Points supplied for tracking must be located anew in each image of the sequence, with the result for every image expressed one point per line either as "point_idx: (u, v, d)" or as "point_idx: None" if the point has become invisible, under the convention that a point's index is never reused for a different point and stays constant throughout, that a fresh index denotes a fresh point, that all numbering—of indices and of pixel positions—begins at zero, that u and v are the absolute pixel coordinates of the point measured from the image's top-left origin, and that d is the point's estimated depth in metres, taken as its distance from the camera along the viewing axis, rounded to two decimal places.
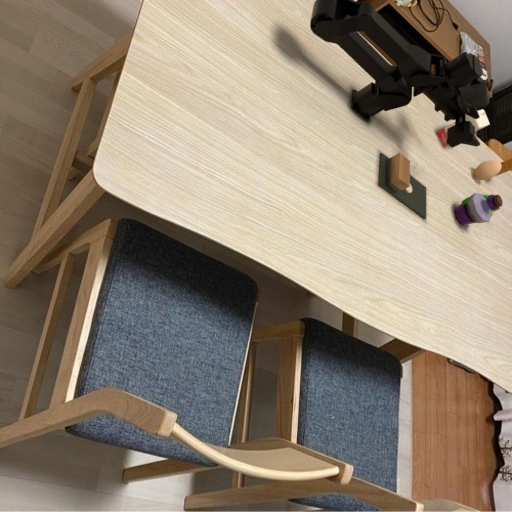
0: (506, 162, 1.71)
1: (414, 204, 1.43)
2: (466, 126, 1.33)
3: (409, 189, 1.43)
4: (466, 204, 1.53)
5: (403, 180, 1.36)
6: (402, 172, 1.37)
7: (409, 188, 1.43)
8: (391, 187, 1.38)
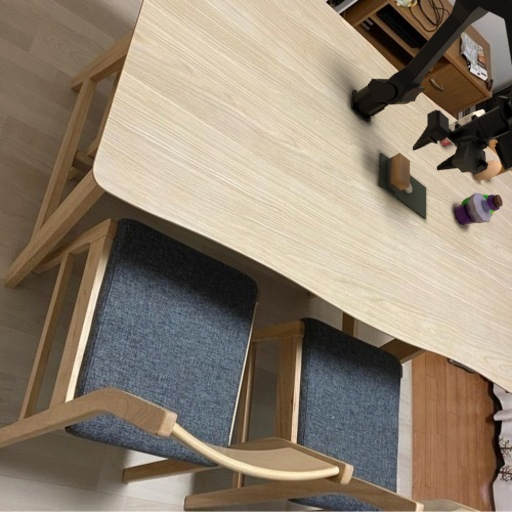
0: None
1: (414, 204, 1.43)
2: (443, 131, 1.22)
3: (409, 189, 1.43)
4: (466, 204, 1.53)
5: (403, 180, 1.36)
6: (402, 172, 1.37)
7: (409, 188, 1.43)
8: (391, 187, 1.38)
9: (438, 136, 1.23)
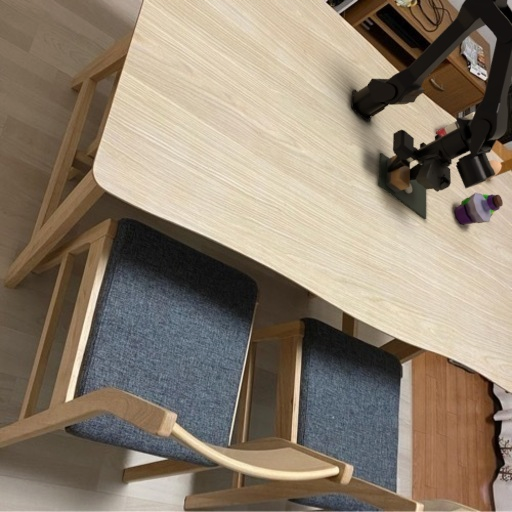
0: (506, 162, 1.71)
1: (414, 204, 1.43)
2: (407, 150, 1.28)
3: (409, 189, 1.43)
4: (466, 204, 1.53)
5: (403, 180, 1.36)
6: (402, 172, 1.37)
7: (409, 188, 1.43)
8: (391, 187, 1.38)
9: (403, 155, 1.29)
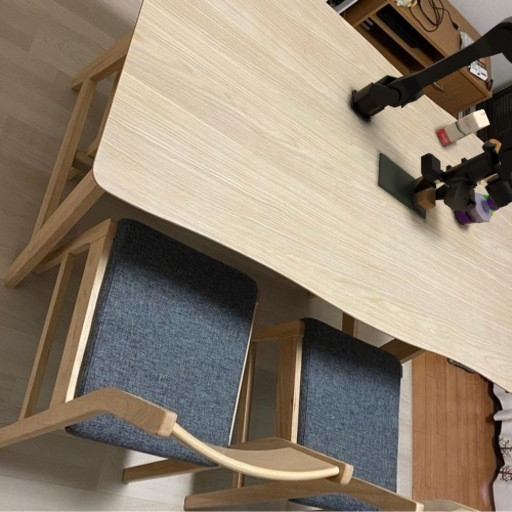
0: None
1: None
2: (435, 173, 1.34)
3: None
4: None
5: (429, 201, 1.41)
6: (429, 193, 1.42)
7: None
8: (417, 207, 1.43)
9: (431, 177, 1.34)
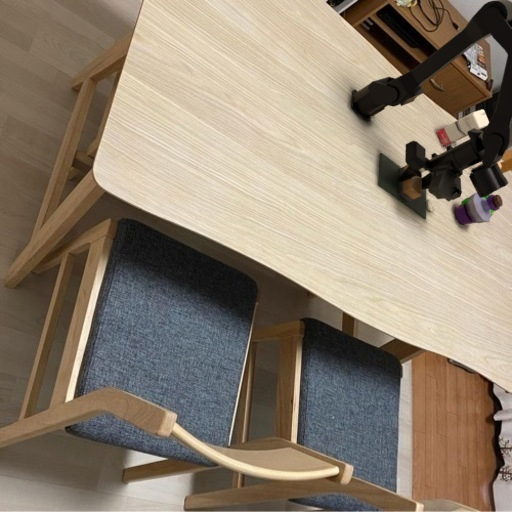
0: (506, 162, 1.71)
1: (414, 204, 1.43)
2: (419, 161, 1.31)
3: (431, 207, 1.48)
4: (466, 204, 1.53)
5: (415, 189, 1.38)
6: (415, 182, 1.39)
7: (431, 206, 1.48)
8: (403, 196, 1.40)
9: (415, 165, 1.32)
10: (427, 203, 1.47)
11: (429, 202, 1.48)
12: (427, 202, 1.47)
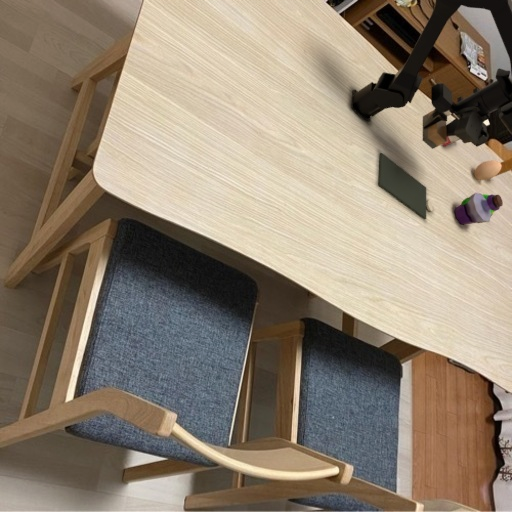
0: (506, 162, 1.71)
1: (414, 204, 1.43)
2: (446, 103, 1.28)
3: (431, 207, 1.48)
4: (466, 204, 1.53)
5: (440, 135, 1.35)
6: (440, 127, 1.36)
7: (431, 206, 1.48)
8: (428, 143, 1.38)
9: (441, 107, 1.29)
10: (427, 203, 1.47)
11: (429, 202, 1.48)
12: (427, 202, 1.47)
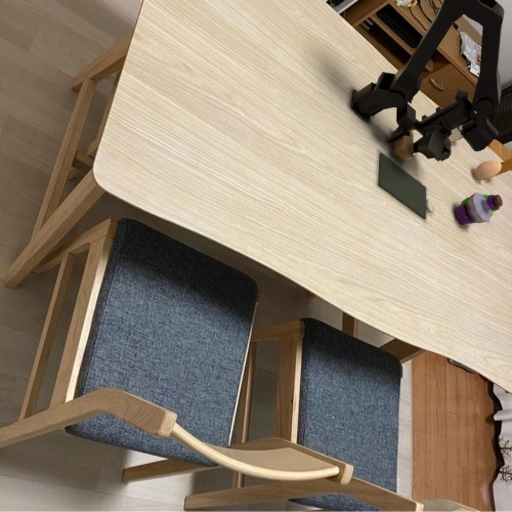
0: (506, 162, 1.71)
1: (414, 204, 1.43)
2: (410, 121, 1.36)
3: (431, 207, 1.48)
4: (466, 204, 1.53)
5: (407, 150, 1.43)
6: (406, 143, 1.44)
7: (431, 206, 1.48)
8: (395, 157, 1.45)
9: (406, 126, 1.36)
10: (427, 203, 1.47)
11: (429, 202, 1.48)
12: (427, 202, 1.47)
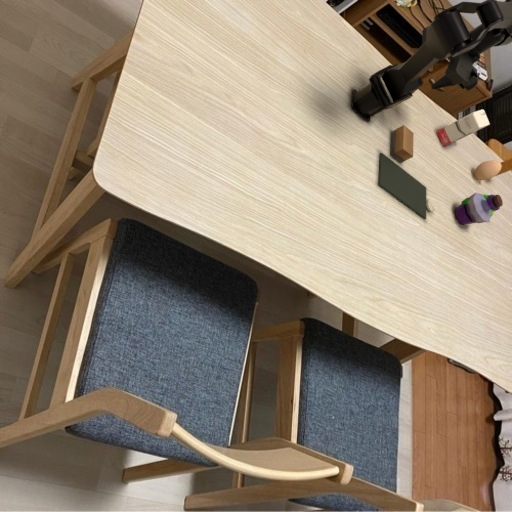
0: (506, 162, 1.71)
1: (414, 204, 1.43)
2: None
3: (431, 207, 1.48)
4: (466, 204, 1.53)
5: (407, 150, 1.43)
6: (406, 143, 1.44)
7: (431, 206, 1.48)
8: (395, 157, 1.45)
9: None
10: (427, 203, 1.47)
11: (429, 202, 1.48)
12: (427, 202, 1.47)
